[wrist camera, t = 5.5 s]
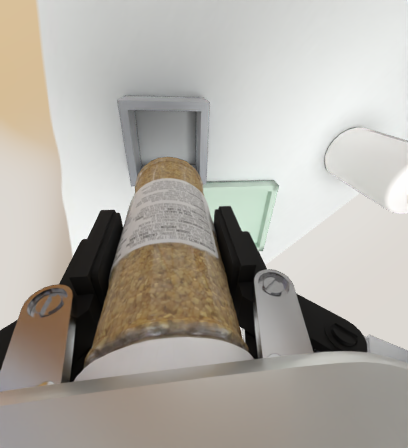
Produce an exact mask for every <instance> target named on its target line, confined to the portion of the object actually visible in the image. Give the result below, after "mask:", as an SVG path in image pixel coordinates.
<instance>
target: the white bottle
mask: <svg viewBox="0 0 408 448" xmlns="http://www.w3.org/2000/svg"><path fill="white" fill-rule="evenodd" d="M325 165H326V169H327V170H328V171H329V173H330V174H332V175H333V176H335V177H336V178H338V179H339V180H341V181H343V182H344V183H346V184H347V185H349V186H350V187H352V188H354V189H355V190H357V191H358V192H360V193H361V194H363V195H364V196H366V197H368V198H369V199H371V200H373V201H374V202H375V203H377V204H379V205H380V206H382V207H383V208H385V209H386V210H388V211H391V212H393V213H397V214H405V213H408V141H407V140H403V139H400V138H396V137H393V136H390V135H386V134H383V133H380V132H376V131H373V130H370V129H366V128H359V127H357V128H353V129H349V130H347V131H345V132H343V133H341V134H340V135H339V136H338V137H337V138H336V139H335V140H334V141H333V142H332V143H331V145H330V146H329V148H328V150H327V153H326V155H325Z"/></svg>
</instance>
